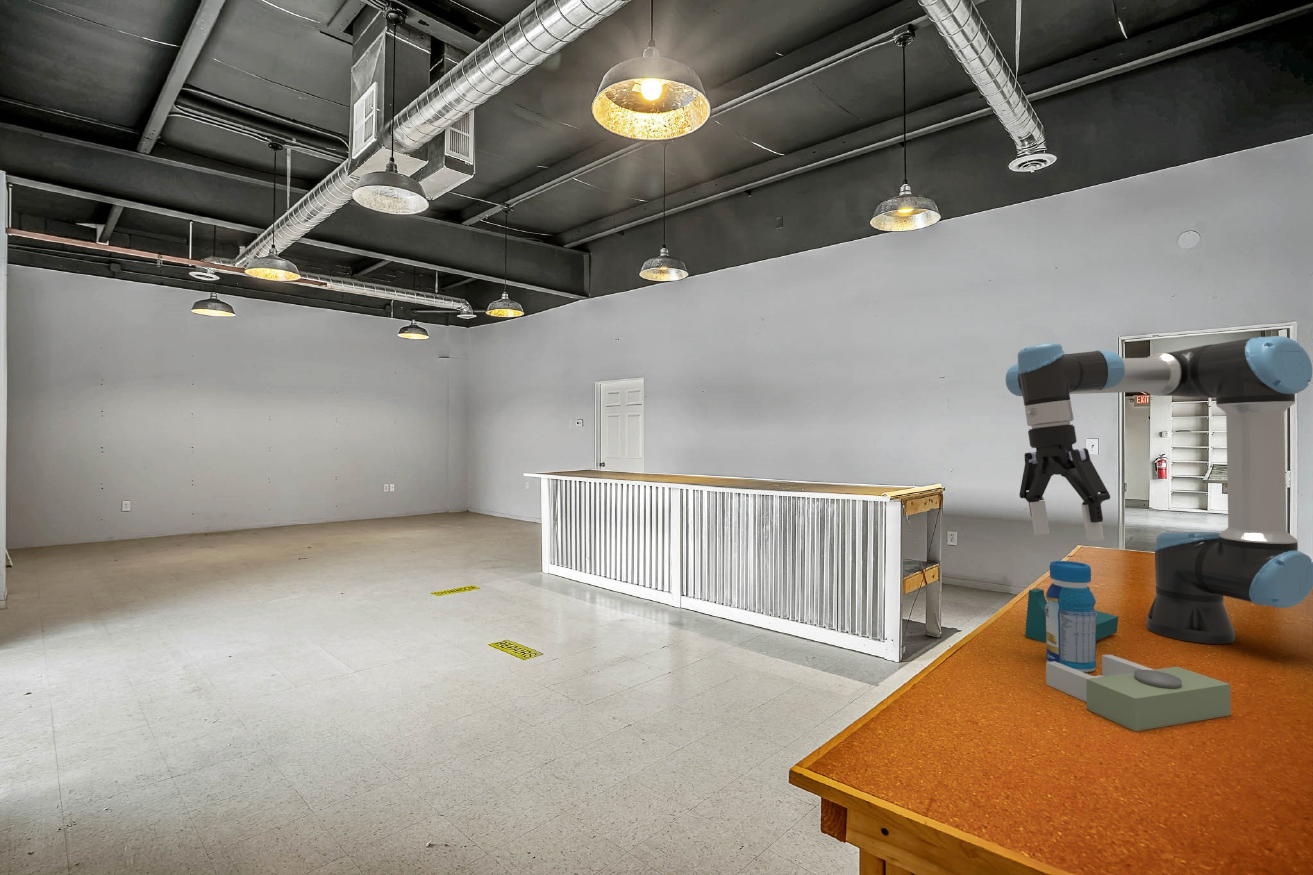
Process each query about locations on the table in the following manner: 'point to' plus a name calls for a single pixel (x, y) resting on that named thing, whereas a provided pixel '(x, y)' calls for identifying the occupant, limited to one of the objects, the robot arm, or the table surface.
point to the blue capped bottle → (1071, 617)
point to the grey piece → (1143, 693)
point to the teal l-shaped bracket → (1037, 617)
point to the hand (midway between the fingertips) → (1067, 537)
